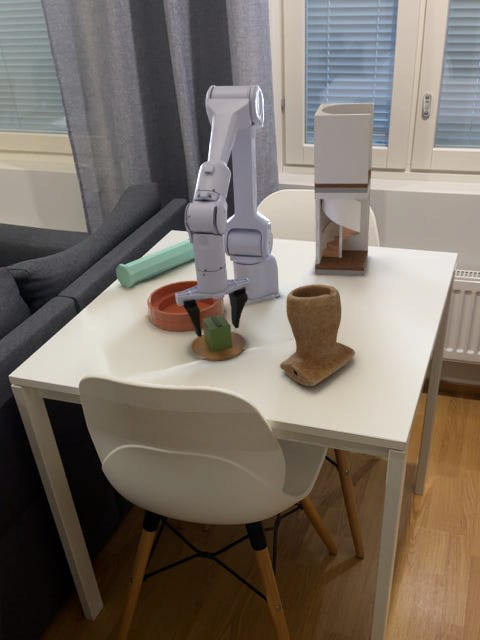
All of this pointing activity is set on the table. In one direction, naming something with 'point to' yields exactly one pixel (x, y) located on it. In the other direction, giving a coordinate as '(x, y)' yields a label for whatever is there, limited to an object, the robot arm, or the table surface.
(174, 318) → the bowl
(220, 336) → the green grooved block
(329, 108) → the spiral staircase tower
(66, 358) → the table surface
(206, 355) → the coaster
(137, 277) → the container
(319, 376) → the stone cup
